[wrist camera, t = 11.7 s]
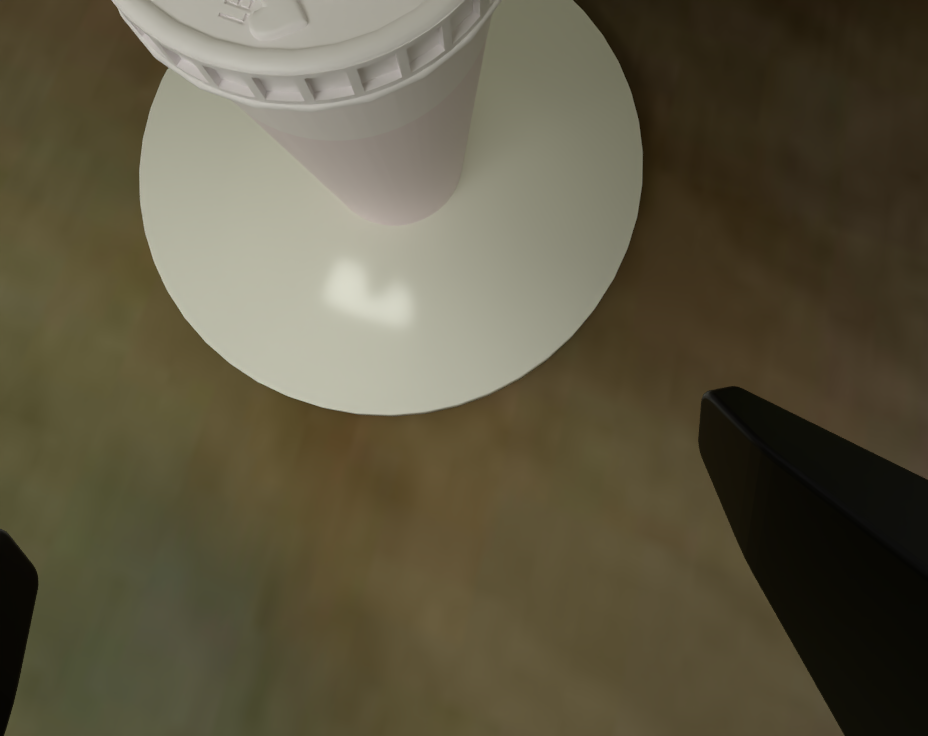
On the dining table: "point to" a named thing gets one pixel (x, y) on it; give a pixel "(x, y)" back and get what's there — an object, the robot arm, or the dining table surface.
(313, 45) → the smoothie
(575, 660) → the dining table surface
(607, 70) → the plate
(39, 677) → the dining table surface
